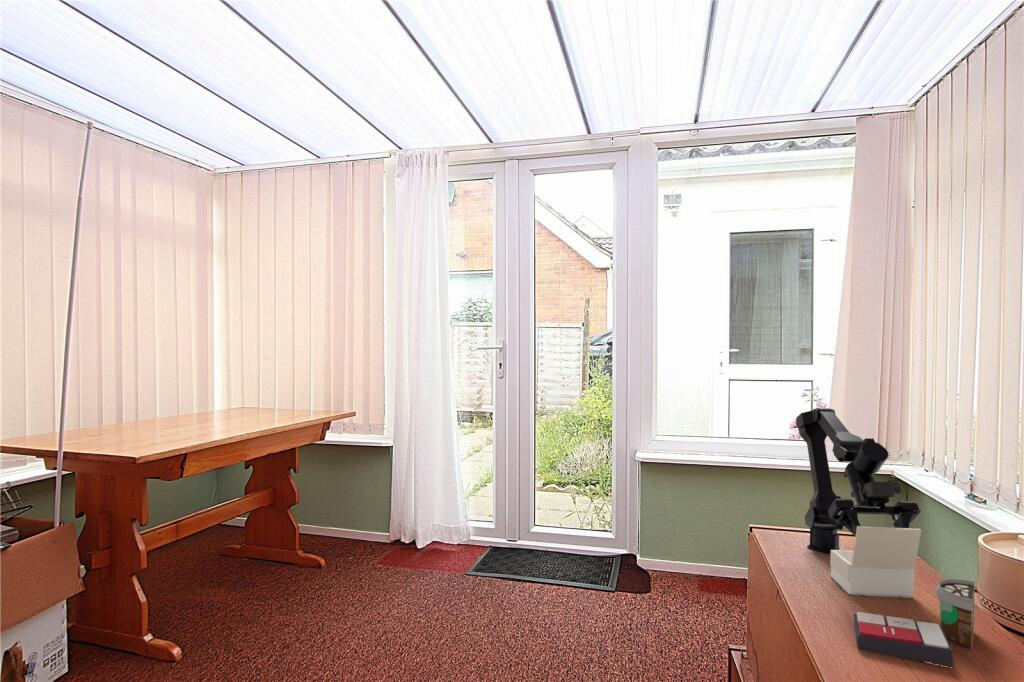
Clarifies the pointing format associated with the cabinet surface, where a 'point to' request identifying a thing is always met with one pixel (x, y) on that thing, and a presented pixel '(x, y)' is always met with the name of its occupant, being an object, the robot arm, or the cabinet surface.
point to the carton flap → (886, 547)
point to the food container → (957, 610)
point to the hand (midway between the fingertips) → (885, 544)
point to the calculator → (902, 638)
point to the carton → (871, 578)
